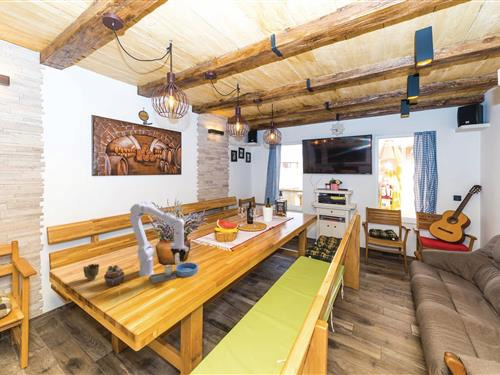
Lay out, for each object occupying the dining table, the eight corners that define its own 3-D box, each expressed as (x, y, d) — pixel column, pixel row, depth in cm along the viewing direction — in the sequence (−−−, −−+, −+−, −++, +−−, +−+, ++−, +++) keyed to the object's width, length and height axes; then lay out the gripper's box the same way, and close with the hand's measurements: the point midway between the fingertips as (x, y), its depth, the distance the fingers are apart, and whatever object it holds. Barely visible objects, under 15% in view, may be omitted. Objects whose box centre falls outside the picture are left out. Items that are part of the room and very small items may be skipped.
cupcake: (126, 283, 124) (126, 266, 123) (106, 289, 117) (105, 271, 117) (121, 277, 131) (121, 261, 130) (102, 282, 124) (102, 265, 124)
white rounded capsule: (173, 263, 135) (173, 254, 135) (179, 260, 139) (179, 252, 138) (178, 264, 133) (178, 256, 132) (184, 262, 137) (183, 253, 136)
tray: (149, 277, 132) (149, 275, 132) (172, 272, 139) (172, 270, 139) (152, 284, 123) (152, 282, 123) (176, 279, 131) (176, 277, 130)
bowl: (173, 270, 142) (173, 265, 142) (193, 265, 149) (193, 260, 149) (178, 279, 131) (179, 273, 130) (200, 274, 138) (201, 268, 138)
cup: (94, 275, 132) (94, 262, 132) (102, 278, 129) (101, 265, 128) (80, 280, 126) (80, 267, 125) (88, 284, 122) (87, 270, 122)
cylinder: (163, 274, 135) (163, 265, 134) (171, 272, 137) (171, 264, 137) (165, 277, 131) (165, 268, 131) (172, 275, 134) (173, 267, 133)
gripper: (165, 238, 135) (165, 259, 136) (182, 242, 128) (182, 265, 129) (174, 235, 141) (174, 256, 142) (191, 239, 134) (191, 261, 135)
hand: (178, 260), depth 136 cm, fingers closed on white rounded capsule, 4 cm apart
